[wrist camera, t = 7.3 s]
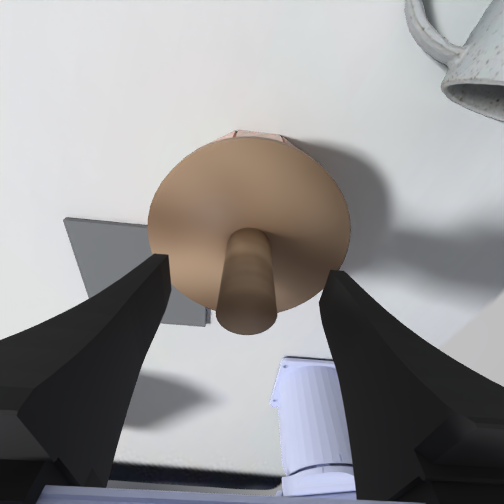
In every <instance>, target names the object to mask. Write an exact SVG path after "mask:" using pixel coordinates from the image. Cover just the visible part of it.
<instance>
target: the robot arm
mask: <svg viewBox="0 0 504 504" xmlns="http://www.w3.org/2000/svg"><path fill="white" fill-rule="evenodd" d="M171 291H172V289H171V277H170V265H169V255H167V254H156V253H154V254H153V255H151V256H150V257H149V258H147V259H146V260H145V261H143V262H142V263H141V264H140V265H138V266H137V267H136V268H134V269H133V270H131V271H130V272H129V273H127V274H126V275H125V276H123V277H122V278H120V279H119V280H118V281H116V282H115V283H113V284H111V285H110V286H108V287H107V288H105V289H104V290H102V291H101V292H99V293H98V294H96V295H95V296H93V297H91V298H89V299H88V300H86V301H84V302H82V303H81V304H79V305H77V306H75V307H73V308H71V309H70V310H68V311H66V312H64V313H61V314H59V315H57V316H55V317H53V318H51V319H49V320H47V321H45V322H43V323H40V324H38V325H36V326H34V327H31V328H29V329H27V330H24V331H22V332H20V333H17V334H15V335H12V336H10V337H7V338H5V339H2V340H0V504H504V387H503V386H501V385H499V384H497V383H495V382H493V381H491V380H489V379H487V378H486V377H484V376H482V375H480V374H479V373H477V372H475V371H473V370H471V369H470V368H468V367H466V366H464V365H463V364H461V363H459V362H458V361H456V360H454V359H453V358H451V357H450V356H448V355H446V354H445V353H443V352H442V351H440V350H439V349H437V348H436V347H434V346H433V345H431V344H430V343H428V342H427V341H425V340H424V339H422V338H421V337H420V336H418V335H417V334H416V333H414V332H413V331H411V330H410V329H409V328H407V327H406V326H405V325H403V324H402V323H401V322H400V321H398V320H397V319H396V318H395V317H394V316H392V315H391V314H390V313H389V312H388V311H386V310H385V309H384V308H383V307H382V306H381V305H380V304H379V303H377V302H376V301H375V300H374V299H373V298H372V297H371V296H370V295H369V294H368V293H367V292H366V291H365V290H364V289H363V288H361V287H360V286H359V285H358V284H357V283H356V282H355V281H354V280H353V279H352V278H351V277H350V276H349V275H348V274H347V273H345V272H344V271H339V270H330V272H329V275H328V278H327V281H326V284H325V286H324V289H323V292H322V295H321V298H320V301H319V307H320V314H321V320H322V325H323V328H324V332H325V335H326V338H327V342H328V345H329V348H330V351H331V355H332V358H333V361H324V360H311V359H297V358H283V359H282V360H281V364H280V367H279V371H278V374H277V378H276V381H275V385H274V388H273V392H272V395H271V399H270V406H272V407H278V415H279V429H280V442H281V456H282V464H283V468H284V471H285V473H286V476H287V477H282V487H283V490H279V491H277V493H276V495H275V496H266V495H245V494H223V493H202V492H181V491H160V490H139V489H118V488H117V489H116V488H106V486H107V482H108V478H109V475H110V471H111V467H112V463H113V460H114V456H115V452H116V448H117V445H118V441H119V438H120V434H121V431H122V427H123V424H124V420H125V417H126V413H127V410H128V407H129V404H130V400H131V397H132V394H133V391H134V388H135V385H136V382H137V378H138V375H139V372H140V369H141V366H142V364H143V361H144V359H145V356H146V354H147V351H148V349H149V347H150V345H151V343H152V340H153V338H154V336H155V334H156V331H157V329H158V327H159V325H160V322H161V320H162V318H163V315H164V313H165V311H166V308H167V304H168V301H169V298H170V294H171Z"/></svg>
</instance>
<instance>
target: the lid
mask: <svg viewBox="0 0 504 504" xmlns="http://www.w3.org/2000/svg"><path fill="white" fill-rule="evenodd" d="M350 231H351V228H350V216H349V212H348V208H347V204H346V202H345V200H344V197H343V195H342V193H341V191H340V189H339V188H338V186H337V184H336V183H335V181H334V180H333V179H332V178H331V176H330V175H329V174H328V173H327V172H326V171H325V169H324V168H323V167H322V166H321V165H320V164H319V163H318V162H317V161H316V160H314V159H313V158H312V157H311V156H309V155H308V154H306V153H305V152H303V151H302V150H300V149H298V148H296V147H294V146H292V145H289V144H287V143H285V142H282V141H278V140H275V139H271V138H264V137H257V136H239V137H233V138H226V139H222V140H219V141H215V142H212V143H209V144H207V145H205V146H203V147H201V148H199V149H197V150H195V151H194V152H192V153H191V154H189V155H188V156H186V157H185V158H184V159H183V160H182V161H181V162H180V163H179V164H177V165H176V166H175V167H174V168H173V169H172V170H171V171H170V173H169V174H168V175H167V176H166V178H165V179H164V180H163V181H162V183H161V184H160V186H159V188H158V190H157V191H156V193H155V195H154V198H153V200H152V203H151V206H150V211H149V216H148V238H149V244H150V248H151V251H152V254H154V253H156V254H167V255H169V265H170V277H171V284H172V285H173V286H174V287H175V288H176V289H177V290H179V291H180V292H181V293H182V294H183V295H185V296H186V297H188V298H189V299H191V300H192V301H194V302H196V303H198V304H200V305H202V306H204V307H207V308H209V309H212V310H215V311H216V318H217V320H218V322H219V323H220V325H221V326H222V327H224V328H225V329H227V330H228V331H230V332H233V333H236V334H241V335H254V334H258V333H261V332H264V331H266V330H267V329H269V328H270V327H271V326H272V325H273V324H274V323H275V321H276V319H277V313H278V312H282V311H285V310H288V309H291V308H293V307H296V306H298V305H300V304H302V303H304V302H306V301H308V300H309V299H311V298H312V297H314V296H315V295H316V294H318V293H319V292H320V291H321V290H322V289H324V286H325V284H326V281H327V278H328V275H329V272H330V270H339V269H340V267H341V265H342V263H343V261H344V259H345V256H346V253H347V250H348V246H349V242H350Z"/></svg>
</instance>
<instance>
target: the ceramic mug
mask: <svg viewBox="0 0 504 504" xmlns="http://www.w3.org/2000/svg"><path fill="white" fill-rule="evenodd" d="M405 15H406V20H407V24H408V27H409V31H410V33H411V35H412V36H413V38H414V40H415V41H416V42H417V44H418V45H419V46H420V47H421V48H422V49H423V50H424V51H425V52H426V53H428V54H429V55H430V56H432V57H433V58H435V59H436V60H437V61H439V62H441V63H444V64H446V65H447V66H448V68H449V69H448V72H447V74H446V75H445V77H444V79H443V81H442V83H441V90H442V92H443V93H444V94H445V95H446V96H447V97H448V98H449V99H450V100H451V101H454V102H456V103H458V104H460V105H462V106H463V107H465V108H467V109H469V110H472V111H475V112H477V113H480V114H483V115H484V116H488V117H492V118H494V119H497V120H501V121H504V0H493V1H492V2H491V4H490V5H489V7H488V8H487V10H486V11H485V13H484V14H483V16H482V18H481V19H480V21H479V22H478V24H477V26H476V27H475V29H474V30H473V31H472V32H471V34H470V36H469V38H468V39H467V41H466V43H465V44H464V46H463V47H459V46H455V45H453V44H451V43H449V42H448V41H447V39H446V38H445V37H443V36H441V35H440V34H439V33H438V31H437V30H436V29H435V28H434V27H433V26H432V25H431V24H430V23H429V21H428V19H427V17H426V14H425V9H424V6H423V2H422V0H405Z"/></svg>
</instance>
